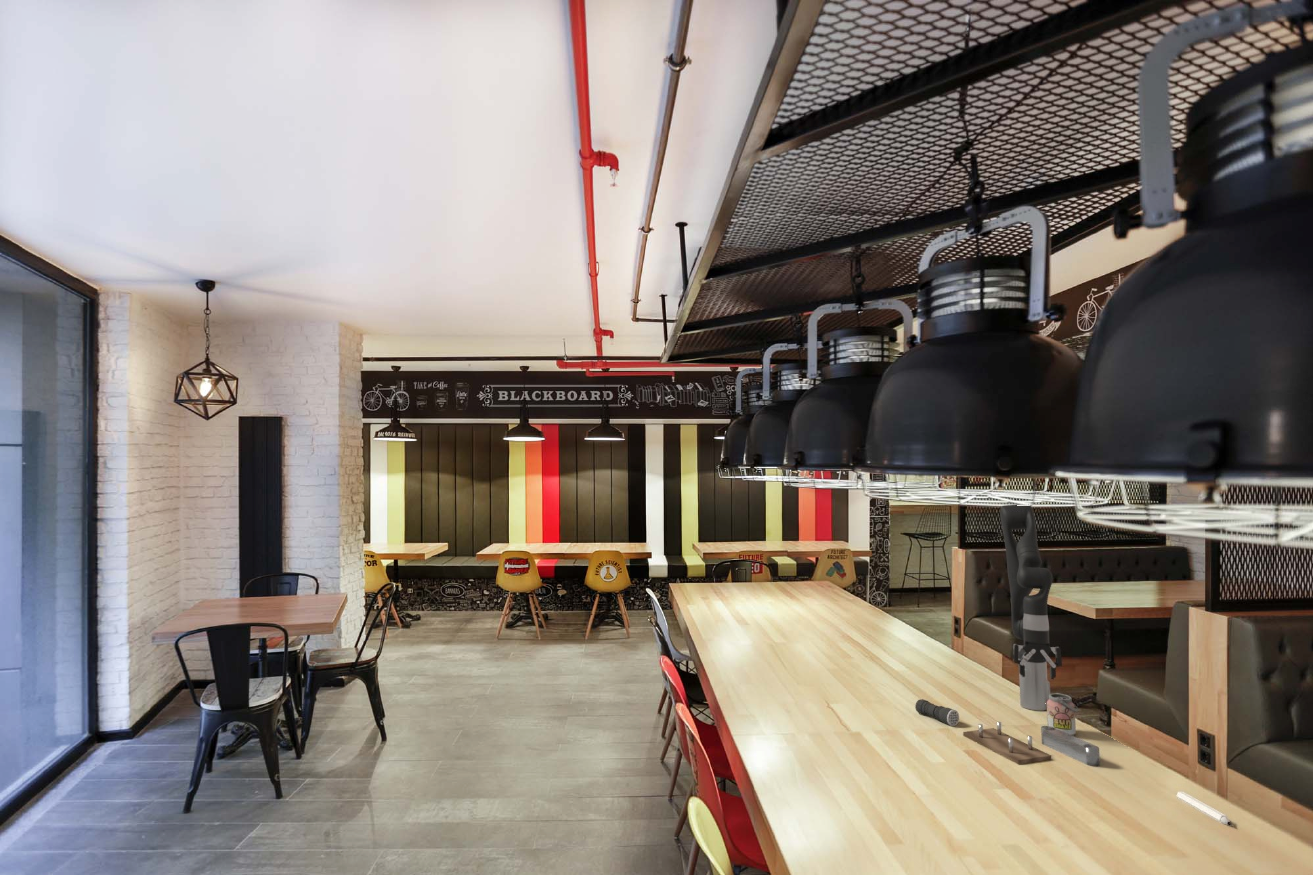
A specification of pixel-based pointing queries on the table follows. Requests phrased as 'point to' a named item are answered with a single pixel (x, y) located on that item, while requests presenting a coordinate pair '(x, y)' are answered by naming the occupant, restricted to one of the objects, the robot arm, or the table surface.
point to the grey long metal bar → (1070, 746)
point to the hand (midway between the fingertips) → (1037, 677)
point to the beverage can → (1061, 713)
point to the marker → (1203, 808)
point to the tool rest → (1007, 745)
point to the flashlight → (937, 712)
